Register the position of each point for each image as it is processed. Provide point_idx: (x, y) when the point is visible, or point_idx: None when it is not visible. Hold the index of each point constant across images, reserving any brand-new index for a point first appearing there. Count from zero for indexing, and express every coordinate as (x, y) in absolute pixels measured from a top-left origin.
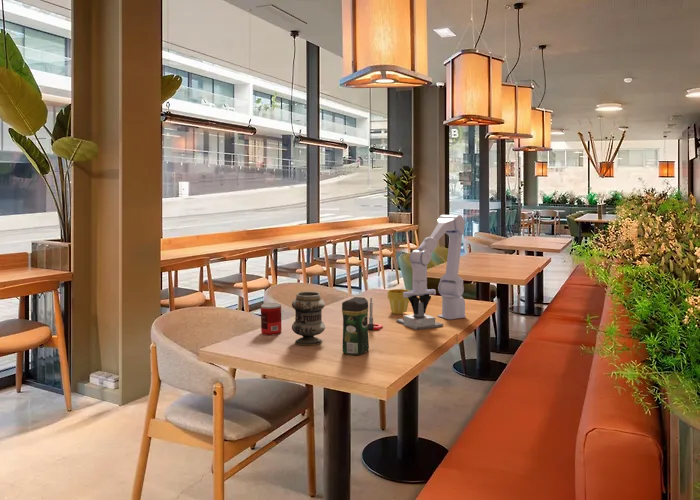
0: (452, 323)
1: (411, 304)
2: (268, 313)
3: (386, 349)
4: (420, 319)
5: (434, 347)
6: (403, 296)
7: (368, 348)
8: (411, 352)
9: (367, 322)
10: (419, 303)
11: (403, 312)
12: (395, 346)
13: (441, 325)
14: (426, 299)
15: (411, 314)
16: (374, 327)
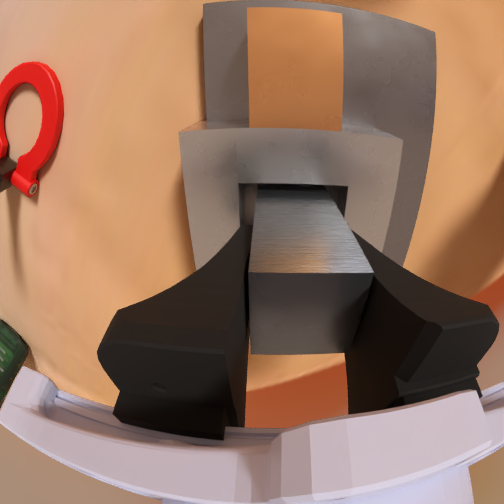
0: (469, 241)
1: (198, 274)
2: None
3: (61, 362)
4: None
5: None
6: (25, 377)
7: (27, 353)
8: (110, 396)
9: (3, 400)
10: (278, 352)
11: (254, 8)
12: (79, 361)
13: None
14: (348, 414)
15: (277, 124)
16: (14, 185)
